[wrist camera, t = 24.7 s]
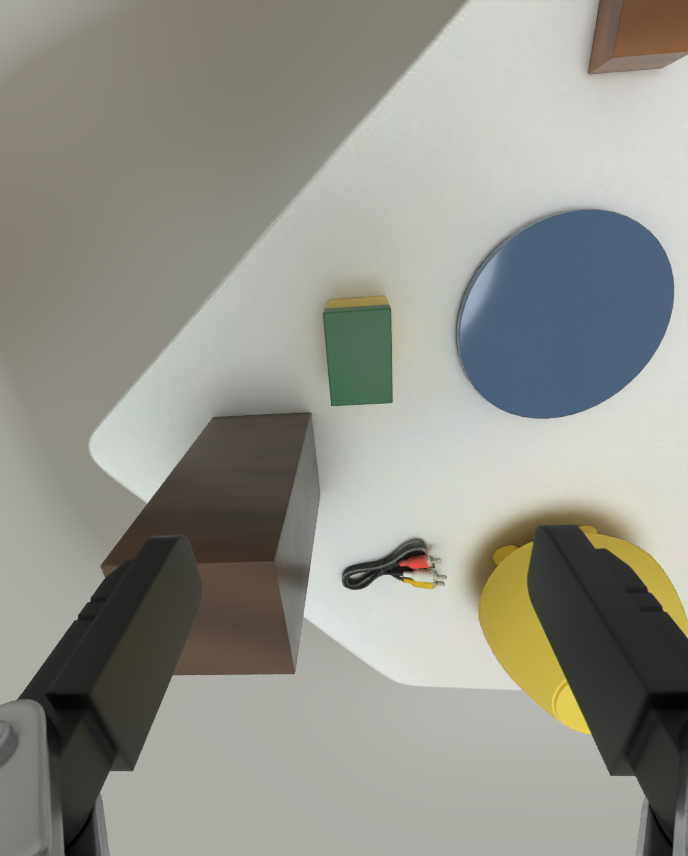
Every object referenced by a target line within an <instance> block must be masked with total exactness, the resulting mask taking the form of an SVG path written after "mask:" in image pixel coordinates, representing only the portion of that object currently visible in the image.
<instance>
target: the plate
mask: <svg viewBox="0 0 688 856" xmlns="http://www.w3.org/2000/svg"><path fill="white" fill-rule="evenodd" d="M673 301H674V279H673V274H672V269H671V265H670V262H669V260H668V257H667V255H666V252H665V251H664V249H663V247H662V246H661V244H660V242H659V241H658V240H657V239H656V238H655V236H654V235H653V234H652V233H651V232H650V231H649V230H648V229H646V228H645V227H644V226H643V225H641V224H640V223H639V222H637V221H635V220H633V219H631V218H629V217H627V216H624V215H621V214H618V213H615V212H610V211H604V210H574V211H567V212H561V213H557V214H553V215H550V216H546V217H544V218H541V219H539V220H537V221H534V222H532V223H530V224H528V225H527V226H525V227H523V228H521V229H519V230H518V231H516V232H515V233H514V234H512V235H511V236H509V237H508V238H507V239H505V240H504V241H503V242H502V243H501V244H500V245H499V246H498V247H497V248H495V249H494V250H493V251H492V252H491V254H490V255H489V256H488V257H487V258H486V259H485V260H484V262H483V263H482V264H481V266H480V267H479V269H478V270H477V271H476V273H475V274H474V276H473V278H472V280H471V282H470V283H469V285H468V287H467V289H466V292H465V294H464V297H463V299H462V302H461V306H460V310H459V314H458V319H457V327H456V342H457V349H458V355H459V358H460V361H461V365H462V367H463V369H464V371H465V373H466V375H467V377H468V378H469V380H470V381H471V383H472V384H473V386H474V387H475V388H476V390H477V391H478V392H479V393H480V394H481V395H482V396H483V397H484V398H485V399H486V400H488V401H489V402H490V403H491V404H493V405H495V406H496V407H498V408H500V409H501V410H504V411H506V412H509V413H511V414H514V415H518V416H522V417H528V418H542V419H548V418H558V417H563V416H568V415H573V414H576V413H579V412H582V411H585V410H587V409H589V408H592V407H594V406H596V405H598V404H600V403H602V402H604V401H605V400H607V399H609V398H610V397H612V396H613V395H615V394H616V393H618V392H619V391H620V390H622V389H623V388H624V387H625V386H626V385H628V384H629V383H630V382H631V381H632V380H633V379H634V378H635V377H636V376H637V375H638V374H639V373H640V372H641V371H642V370H643V368H644V367H645V366H646V365H647V363H648V362H649V361H650V359H651V358H652V356H653V355H654V353H655V352H656V350H657V349H658V347H659V345H660V343H661V341H662V339H663V337H664V335H665V332H666V330H667V327H668V324H669V321H670V317H671V313H672V308H673Z"/></svg>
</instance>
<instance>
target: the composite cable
mask: <svg viewBox="0 0 688 856" xmlns="http://www.w3.org/2000/svg"><path fill="white" fill-rule="evenodd" d="M417 550H420V552H418V553H417V554H415V555H412V556H408V557H404V558H401V557H403V556H404V555H406V554H407V553H409V552H413V551H417ZM439 562H441V559H440V558H438V559H433V558H432V556H428V555H427V550H426V546H425V544H424V543H422V542H413V543H411V544H408V545H406V546H404V547H403V548H402V549H400V550H399V551H398V552H397V553H395V554H394V555H392V556H391V557H389V558H388V559H386V560H383V561H381V562H377V563H371V564H362V565H357V566H353V567H350V568H348V569H346V570H345V572H344V573H343V577H342V583H343V585H344V587H346V588H348V589H351V590H358V589H363V588H365V587H367V586H368V585H369V584H371V583H372V582H373V581H374V580H375V579H376V578H377V577H380V576H382V575H391V576H393V577H395V578H396V579H398V580H401V581H403V582H404V583H411V584H412V585H413V586H415V587H420V588H427V589H432V588H435V587H436V586H445V583H444V582H443V581H437V580H438V579H446V578H447V576H445V575H439V574H437V572H436V571H433V570H432V569H428V568H435V566H434V563H439ZM368 571H371V572H369V573H368V574H367V575H365V576H364V577H362V578H360V579H358V580H351V579H350V578H349V577H350V576H352V575H354V574H357V573H362V572H368ZM399 576H403V578H402V577H399Z"/></svg>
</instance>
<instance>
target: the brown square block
mask: <svg viewBox="0 0 688 856" xmlns="http://www.w3.org/2000/svg"><path fill="white" fill-rule="evenodd" d="M686 55H688V0H600V7H599V13H598V19H597V25H596V31H595V37H594V43H593V49H592V55H591V61H590V67H589V74H594V73H606V72H619V71H631V70H644V69H656V68H663V67H665V66H667V65H669V64H671V63H673V62H675V61H676V60H678V59H680V58H682V57H684V56H686Z"/></svg>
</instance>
